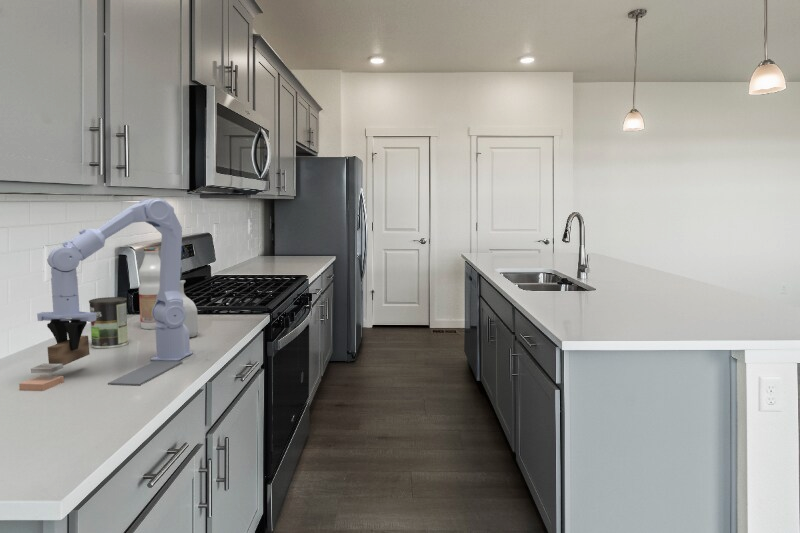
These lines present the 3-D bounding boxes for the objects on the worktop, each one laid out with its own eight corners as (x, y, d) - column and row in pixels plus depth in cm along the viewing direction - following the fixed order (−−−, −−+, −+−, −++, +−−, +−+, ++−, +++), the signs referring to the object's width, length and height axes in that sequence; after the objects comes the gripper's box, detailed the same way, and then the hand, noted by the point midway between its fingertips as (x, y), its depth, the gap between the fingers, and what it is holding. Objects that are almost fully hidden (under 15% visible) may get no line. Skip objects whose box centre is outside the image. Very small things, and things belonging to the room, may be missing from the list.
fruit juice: (148, 330, 207) (144, 248, 204) (136, 327, 213) (131, 247, 210) (174, 326, 214) (170, 247, 211) (161, 323, 220) (158, 246, 217)
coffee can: (101, 350, 178) (99, 303, 177) (85, 345, 185) (82, 300, 183) (135, 344, 186) (132, 298, 185) (118, 339, 193) (116, 295, 191)
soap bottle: (189, 332, 203) (186, 265, 201) (200, 337, 196) (197, 267, 194) (160, 336, 197) (156, 267, 195) (170, 341, 190) (167, 269, 188)
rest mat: (154, 362, 164) (154, 360, 164) (182, 362, 163) (182, 361, 163) (107, 384, 143) (107, 382, 143) (139, 385, 142) (139, 383, 142)
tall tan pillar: (76, 354, 158) (74, 335, 158) (94, 354, 158) (92, 335, 157) (31, 372, 142) (29, 352, 142) (50, 373, 142) (48, 352, 141)
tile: (40, 375, 146) (19, 383, 139) (63, 376, 145) (42, 384, 138) (41, 382, 146) (19, 391, 139) (64, 383, 146) (43, 392, 139)
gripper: (26, 297, 147) (30, 352, 149) (82, 298, 146) (85, 353, 147) (47, 293, 154) (50, 346, 156) (100, 294, 152) (103, 347, 154)
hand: (68, 349), depth 152 cm, fingers closed on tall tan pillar, 2 cm apart
